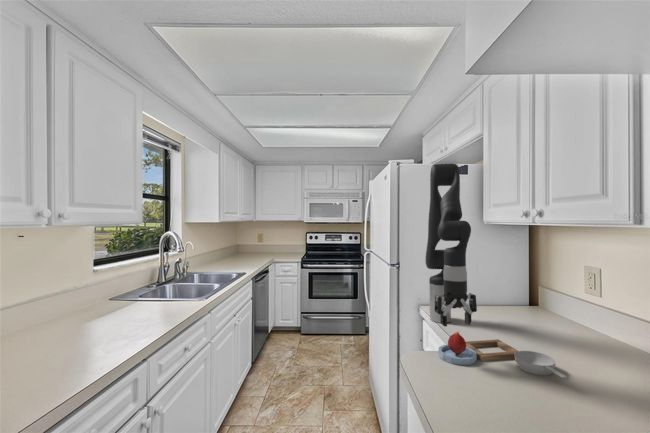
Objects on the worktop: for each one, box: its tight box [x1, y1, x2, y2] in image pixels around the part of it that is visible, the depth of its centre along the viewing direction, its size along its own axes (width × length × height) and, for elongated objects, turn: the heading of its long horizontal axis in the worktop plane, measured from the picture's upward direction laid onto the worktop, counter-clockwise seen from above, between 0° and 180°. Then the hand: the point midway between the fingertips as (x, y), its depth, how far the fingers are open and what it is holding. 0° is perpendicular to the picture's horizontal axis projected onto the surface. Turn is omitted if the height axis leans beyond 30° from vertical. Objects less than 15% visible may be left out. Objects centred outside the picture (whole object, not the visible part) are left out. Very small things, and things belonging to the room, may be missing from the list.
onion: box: [447, 331, 467, 355], centre depth 107 cm, size 6×6×8 cm
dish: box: [438, 344, 478, 366], centre depth 107 cm, size 12×12×2 cm
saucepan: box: [514, 350, 568, 379], centre depth 94 cm, size 11×18×4 cm, turn 0°
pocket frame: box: [465, 339, 519, 362], centre depth 110 cm, size 12×15×2 cm
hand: (455, 324), depth 107 cm, fingers open, 8 cm apart
